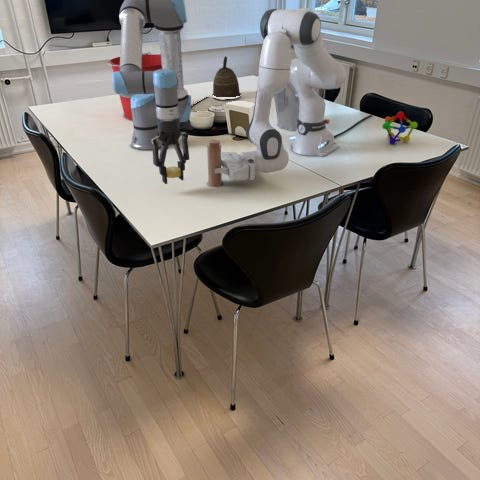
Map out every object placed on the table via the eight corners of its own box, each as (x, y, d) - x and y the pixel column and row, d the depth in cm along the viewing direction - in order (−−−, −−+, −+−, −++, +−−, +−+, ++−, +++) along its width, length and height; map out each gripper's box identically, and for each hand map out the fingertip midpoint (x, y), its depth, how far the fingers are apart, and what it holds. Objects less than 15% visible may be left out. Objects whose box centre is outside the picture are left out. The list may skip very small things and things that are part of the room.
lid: (161, 174, 162) (161, 169, 161) (175, 170, 165) (175, 165, 164) (170, 179, 158) (169, 174, 157) (184, 175, 161) (183, 170, 160)
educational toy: (377, 146, 209) (379, 114, 202) (384, 138, 219) (386, 107, 211) (411, 149, 202) (415, 116, 195) (417, 141, 212) (420, 109, 204)
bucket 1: (123, 105, 263) (116, 51, 247) (182, 106, 262) (179, 52, 247) (107, 123, 234) (97, 63, 218) (173, 124, 233) (168, 64, 217)
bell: (227, 105, 294) (202, 96, 282) (238, 66, 289) (213, 55, 277) (243, 108, 280) (217, 98, 268) (255, 66, 275) (229, 55, 263)
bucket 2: (296, 138, 215) (301, 78, 201) (255, 124, 234) (256, 68, 219) (335, 125, 232) (342, 70, 217) (294, 113, 251) (297, 61, 236)
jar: (223, 185, 170) (223, 142, 161) (211, 187, 168) (209, 144, 159) (218, 180, 174) (217, 138, 165) (206, 182, 172) (205, 139, 163)
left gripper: (146, 125, 144) (153, 190, 156) (197, 116, 152) (200, 178, 165) (137, 119, 149) (145, 182, 161) (187, 111, 158) (191, 172, 170)
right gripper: (239, 146, 177) (205, 150, 174) (255, 165, 161) (218, 169, 157) (239, 161, 180) (206, 165, 177) (255, 181, 164) (219, 185, 160)
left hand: (173, 180), depth 163 cm, fingers closed on lid, 6 cm apart
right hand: (212, 167), depth 167 cm, fingers closed on jar, 5 cm apart
